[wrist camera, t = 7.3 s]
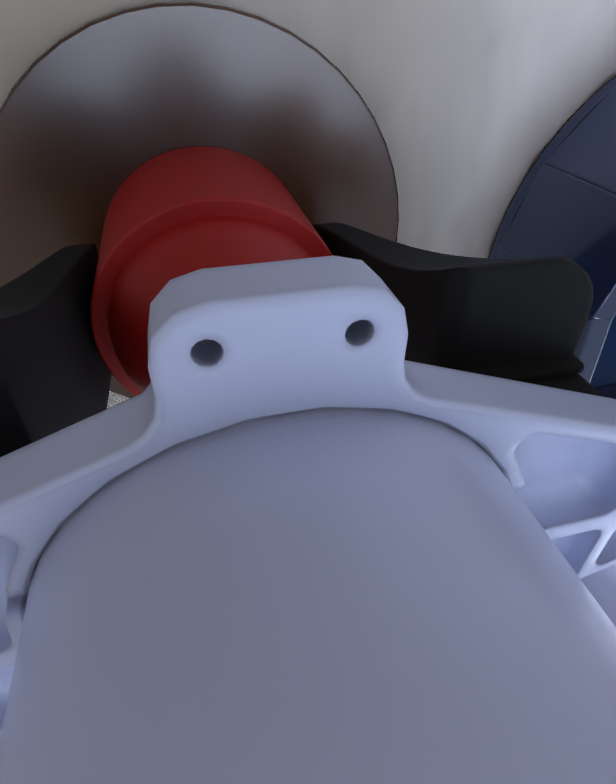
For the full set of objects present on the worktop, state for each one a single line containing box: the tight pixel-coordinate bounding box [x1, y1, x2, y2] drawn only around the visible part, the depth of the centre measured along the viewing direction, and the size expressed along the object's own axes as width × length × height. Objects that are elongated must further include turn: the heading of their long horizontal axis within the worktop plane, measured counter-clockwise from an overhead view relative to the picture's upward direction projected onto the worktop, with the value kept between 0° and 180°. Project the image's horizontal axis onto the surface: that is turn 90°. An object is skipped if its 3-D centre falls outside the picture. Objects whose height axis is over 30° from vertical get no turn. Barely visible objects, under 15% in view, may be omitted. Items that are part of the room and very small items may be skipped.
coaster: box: [0, 2, 399, 398], centre depth 14 cm, size 11×11×1 cm
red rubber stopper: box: [90, 146, 333, 396], centre depth 11 cm, size 5×5×7 cm
